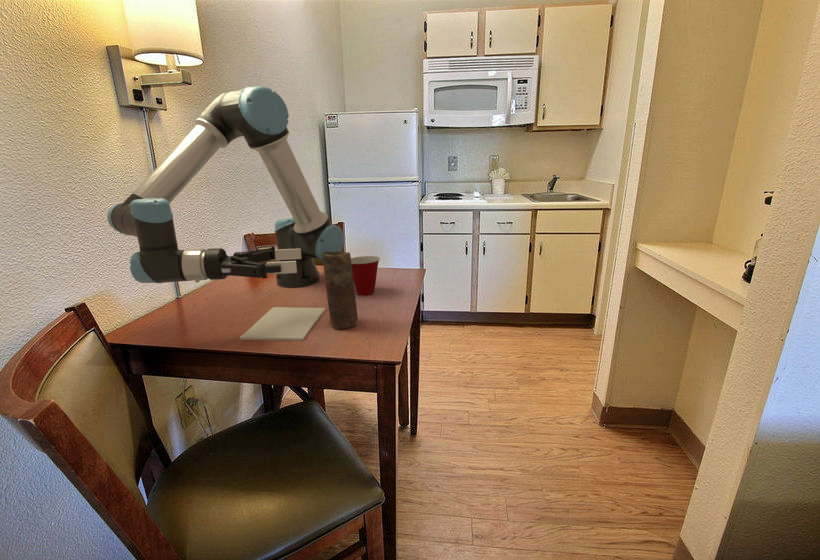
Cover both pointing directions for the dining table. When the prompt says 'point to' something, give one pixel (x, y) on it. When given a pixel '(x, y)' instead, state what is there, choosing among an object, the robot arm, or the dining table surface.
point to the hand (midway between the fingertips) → (298, 259)
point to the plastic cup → (364, 274)
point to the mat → (284, 324)
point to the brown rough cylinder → (340, 289)
